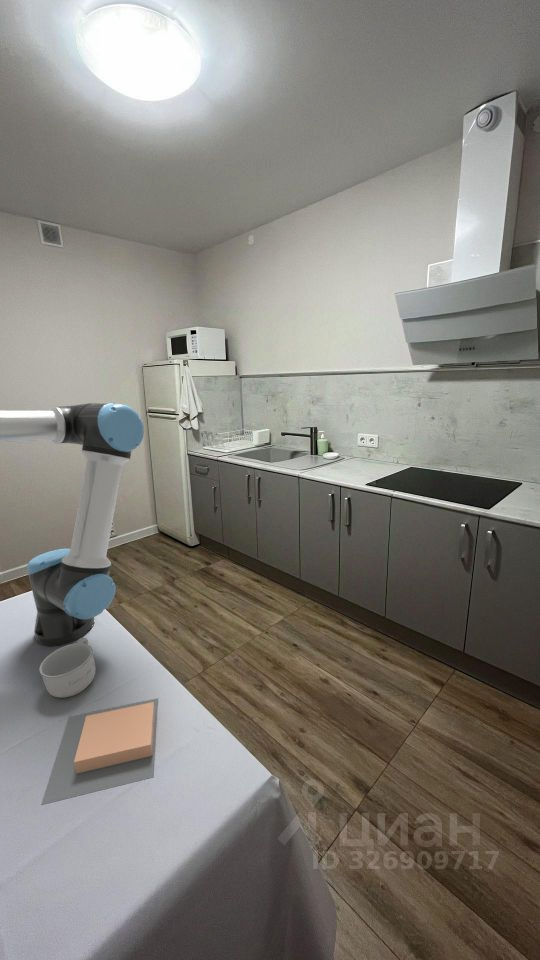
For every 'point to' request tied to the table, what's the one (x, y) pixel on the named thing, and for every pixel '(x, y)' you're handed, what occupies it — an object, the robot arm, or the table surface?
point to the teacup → (68, 669)
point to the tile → (116, 737)
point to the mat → (76, 784)
